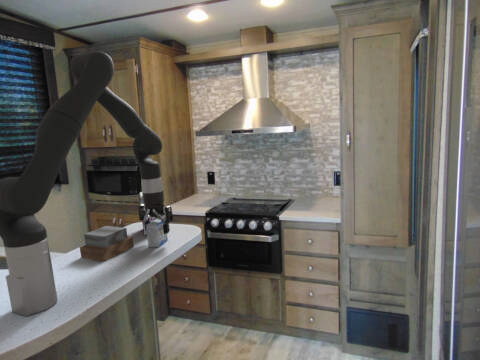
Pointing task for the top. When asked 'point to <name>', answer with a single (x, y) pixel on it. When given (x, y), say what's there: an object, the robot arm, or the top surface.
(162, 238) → the medicine box
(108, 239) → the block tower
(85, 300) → the top surface
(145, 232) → the white cardboard box
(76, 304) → the top surface
